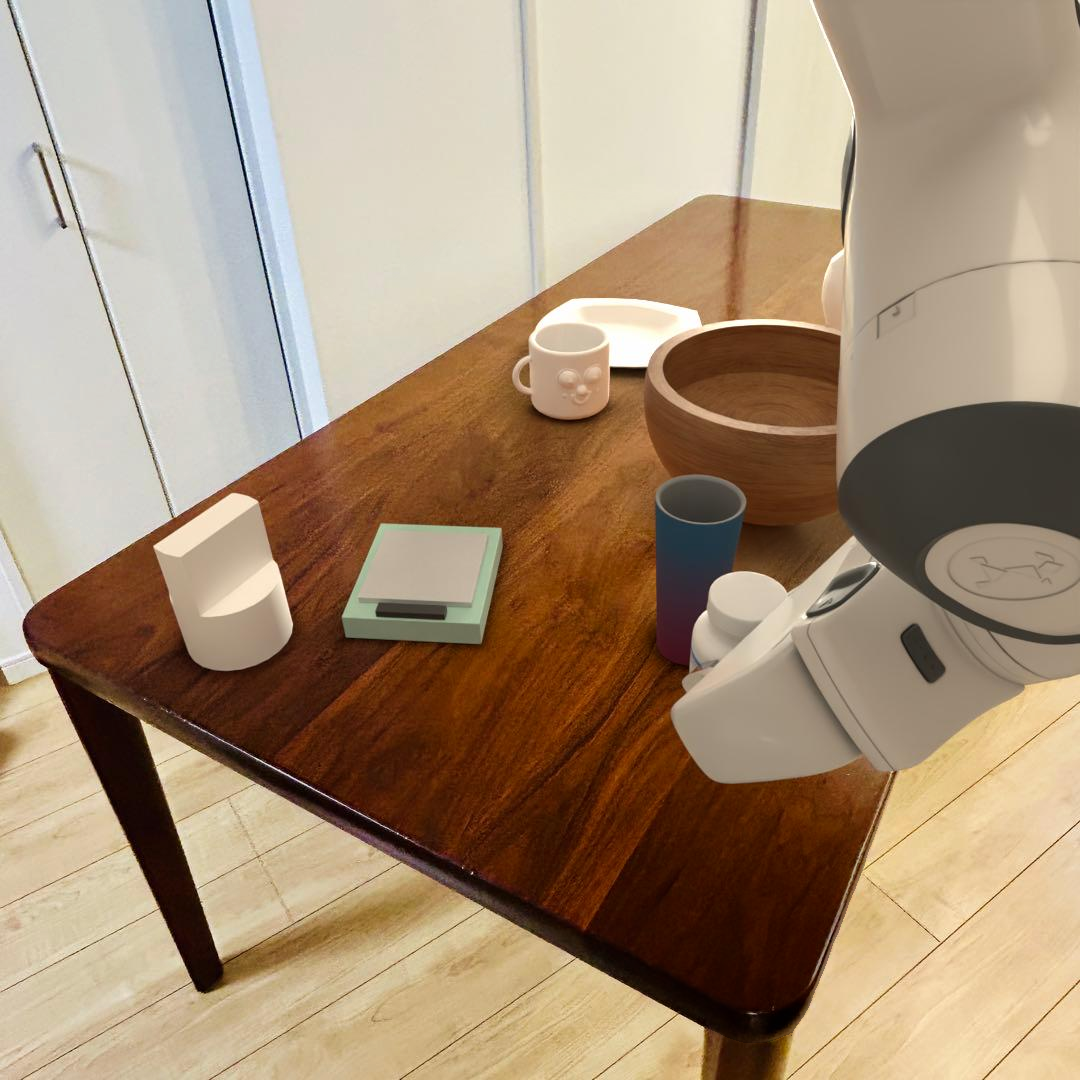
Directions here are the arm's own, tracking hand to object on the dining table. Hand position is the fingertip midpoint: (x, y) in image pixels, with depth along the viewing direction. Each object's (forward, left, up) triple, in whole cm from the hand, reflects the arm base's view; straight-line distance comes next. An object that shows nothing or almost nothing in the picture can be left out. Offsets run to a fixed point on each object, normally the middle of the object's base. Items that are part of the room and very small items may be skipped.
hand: (731, 653), depth 48 cm
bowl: (+40, -19, -19) cm, 48 cm away
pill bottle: (0, 0, -6) cm, 6 cm away
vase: (+70, -48, -19) cm, 87 cm away
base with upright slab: (+30, +32, -19) cm, 48 cm away
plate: (+82, -15, -19) cm, 86 cm away
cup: (+21, -5, -19) cm, 29 cm away
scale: (+33, +16, -19) cm, 41 cm away
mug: (+65, -3, -19) cm, 68 cm away
